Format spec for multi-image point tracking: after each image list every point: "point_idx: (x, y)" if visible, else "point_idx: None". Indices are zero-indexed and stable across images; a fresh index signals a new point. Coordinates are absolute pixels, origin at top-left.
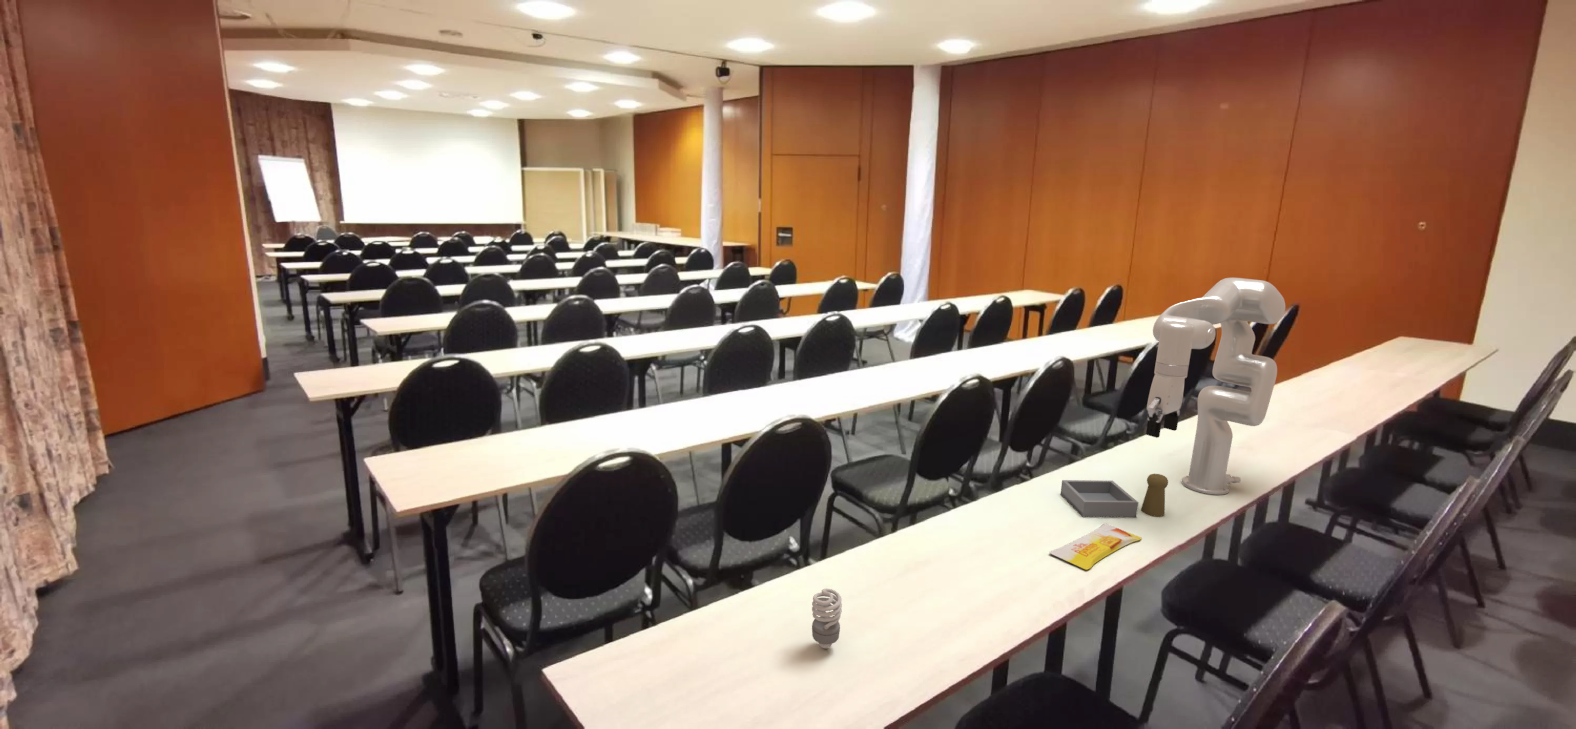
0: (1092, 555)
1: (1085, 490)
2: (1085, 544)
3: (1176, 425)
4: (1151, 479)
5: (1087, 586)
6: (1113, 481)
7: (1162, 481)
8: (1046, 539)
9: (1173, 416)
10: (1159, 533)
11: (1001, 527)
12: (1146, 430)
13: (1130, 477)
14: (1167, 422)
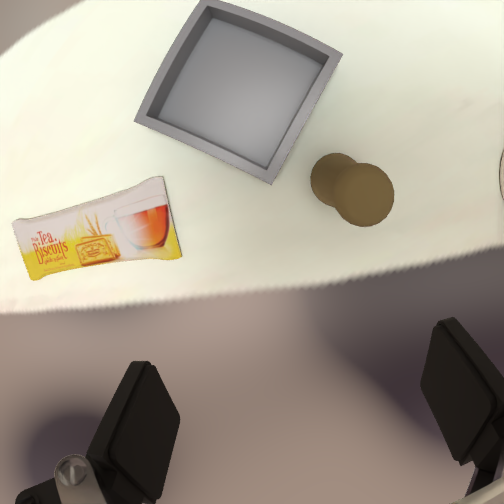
0: (46, 267)
1: (261, 33)
2: (53, 239)
3: (435, 413)
4: (338, 191)
5: (22, 300)
6: (340, 58)
7: (351, 222)
8: (32, 179)
9: (463, 448)
10: (243, 256)
11: (7, 119)
12: (122, 379)
13: (456, 51)
14: (452, 373)
